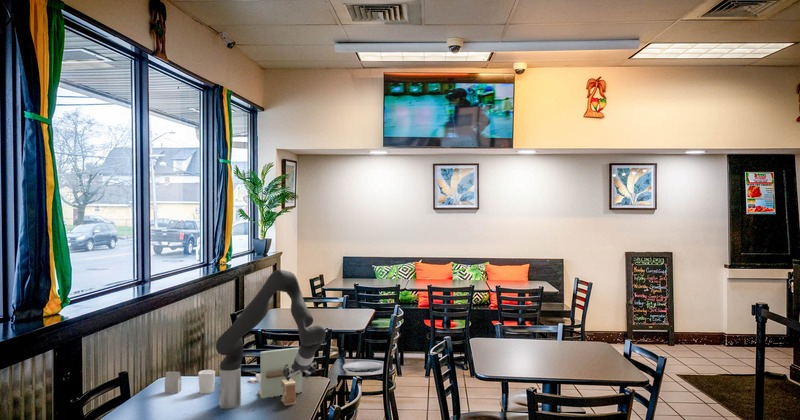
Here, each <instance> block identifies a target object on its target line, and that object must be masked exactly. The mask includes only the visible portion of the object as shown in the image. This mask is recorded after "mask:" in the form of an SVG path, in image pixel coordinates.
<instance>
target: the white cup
mask: <svg viewBox="0 0 800 420" xmlns="http://www.w3.org/2000/svg"><path fill="white" fill-rule="evenodd" d="M215 379H216V371H215V370H214V369H203V370H200V371H198V387H199V393H200V394H202V395H203V394H204V395H208V394H211V393H213V392H215Z"/></svg>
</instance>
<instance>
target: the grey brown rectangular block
mask: <svg viewBox="0 0 800 420" xmlns="http://www.w3.org/2000/svg"><path fill="white" fill-rule="evenodd" d="M165 372H166V373H165V378H164V394H179V393H181V392H182V375H181V372H180V371H165Z"/></svg>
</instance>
